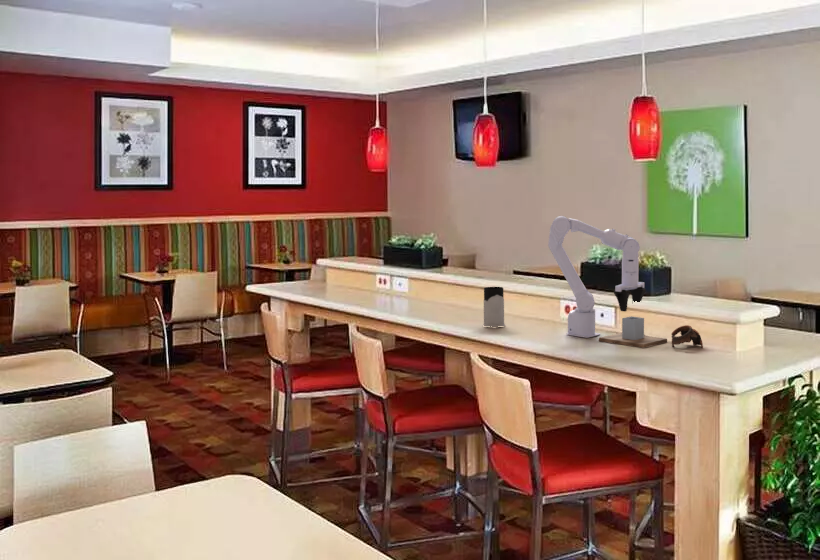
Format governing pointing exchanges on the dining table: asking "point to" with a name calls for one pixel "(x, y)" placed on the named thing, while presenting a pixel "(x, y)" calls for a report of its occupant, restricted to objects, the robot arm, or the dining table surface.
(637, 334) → the sleeve
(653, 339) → the pin plate
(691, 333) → the brown curved band
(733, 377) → the dining table surface
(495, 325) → the glass holder
